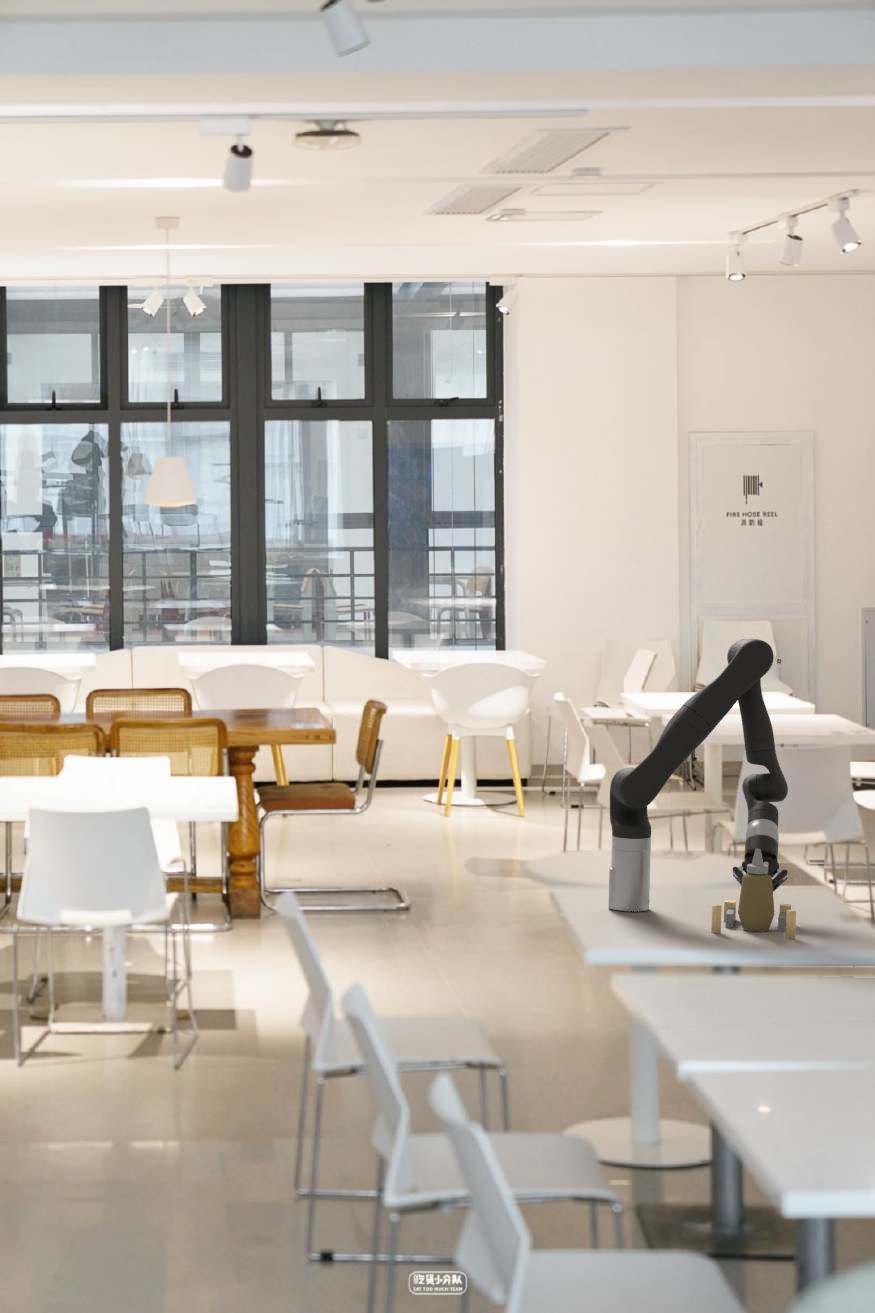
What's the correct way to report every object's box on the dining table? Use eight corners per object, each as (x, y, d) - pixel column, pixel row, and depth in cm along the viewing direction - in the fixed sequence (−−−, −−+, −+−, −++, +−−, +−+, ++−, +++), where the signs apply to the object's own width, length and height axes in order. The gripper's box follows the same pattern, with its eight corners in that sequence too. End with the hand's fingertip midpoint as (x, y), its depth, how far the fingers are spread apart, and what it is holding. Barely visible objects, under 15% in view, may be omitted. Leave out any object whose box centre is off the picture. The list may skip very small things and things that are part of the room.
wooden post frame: (711, 933, 335) (711, 906, 335) (717, 918, 353) (718, 892, 353) (795, 939, 331) (795, 911, 331) (797, 924, 348) (798, 898, 348)
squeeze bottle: (769, 934, 335) (771, 853, 335) (733, 930, 339) (735, 849, 338) (778, 928, 342) (780, 848, 342) (742, 924, 346) (744, 845, 346)
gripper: (732, 832, 355) (727, 893, 343) (790, 835, 351) (788, 897, 340) (733, 851, 360) (728, 912, 348) (790, 854, 357) (788, 916, 345)
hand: (758, 905), depth 344 cm, fingers closed
